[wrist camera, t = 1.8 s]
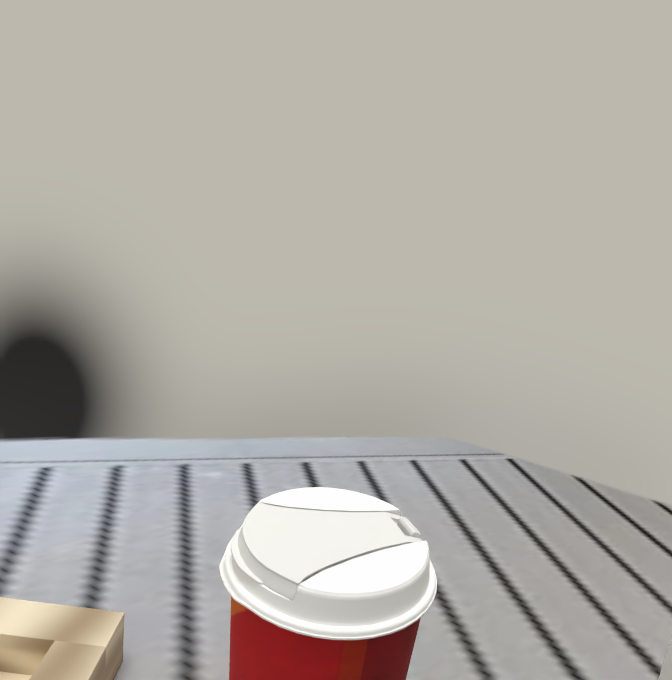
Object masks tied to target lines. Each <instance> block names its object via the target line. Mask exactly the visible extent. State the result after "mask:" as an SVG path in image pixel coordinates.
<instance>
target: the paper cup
mask: <svg viewBox="0 0 672 680" xmlns="http://www.w3.org/2000/svg"><path fill="white" fill-rule="evenodd" d="M419 537H421V534H420V533H419V531H418V530H417V529H416V528H415V527H414V526H413V524H412V523H411V522H410V521H409V520H408V519H407V518H405V517H401V512H400V511H399V509H398V508H396V507H394V506H392V505H391V504H389V503H386V502H384V501H382V500H380V499H377V498H374V497H372V496H369V495H366V494H362V493H358V492H354V491H349V490H344V489H336V488H322V487H313V488H299V489H292V490H287V491H283V492H280V493H276V494H273V495H271V496H269V497H267V498H264V499H262V500H261V501H259V502H258V503H257V504H256V505H255V506H254V508H253V509H252V510H251V511H250V512H249V514H248V515H247V516H246V518H245V520H244V523H243V524H242V526H241V528H240V529H238V530H237V531H236V533H235V535H234V537H233V538H232V539H231V541H230V542H229V544H228V545H227V548H226V551H225V554H224V556H223V559H222V561H221V563H220V565H219V569H220V575H221V579H222V581H223V583H224V586H225V588H226V590H227V591H228V592H229V594H230V595H231V628H230V671H229V680H406V676H407V672H408V668H409V663H410V659H411V655H412V651H413V647H414V643H415V639H416V635H417V631H418V626H419V622H420V618H421V617H422V616H423V615H424V614H425V613H426V612H427V610H428V609H429V607H430V606H431V604H432V603H433V600H434V597H435V594H436V587H437V579H436V574H435V570H434V567H433V565H432V563H431V560H430V552H429V547H428V543H427V541H421V539H420V538H419Z"/></svg>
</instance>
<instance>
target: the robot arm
mask: <svg viewBox="0 0 672 680" xmlns="http://www.w3.org/2000/svg"><path fill="white" fill-rule="evenodd" d="M659 680H672V636H671V639H670V643H669V646H668V649H667V653H666V656H665V659H664V663H663V666H662V670H661V673H660V676H659Z"/></svg>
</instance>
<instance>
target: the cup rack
mask: <svg viewBox="0 0 672 680" xmlns="http://www.w3.org/2000/svg"><path fill="white" fill-rule="evenodd" d="M123 635H124V613H123V612H115V611H107V610H99V609H91V608H83V607H74V606H66V605H58V604H50V603H42V602H34V601H26V600H18V599H10V598H2V597H0V680H113V679H114V677H115V675H116V673H117V671H118V669H119V667H120V665H121V663H122V661H123Z"/></svg>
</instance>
